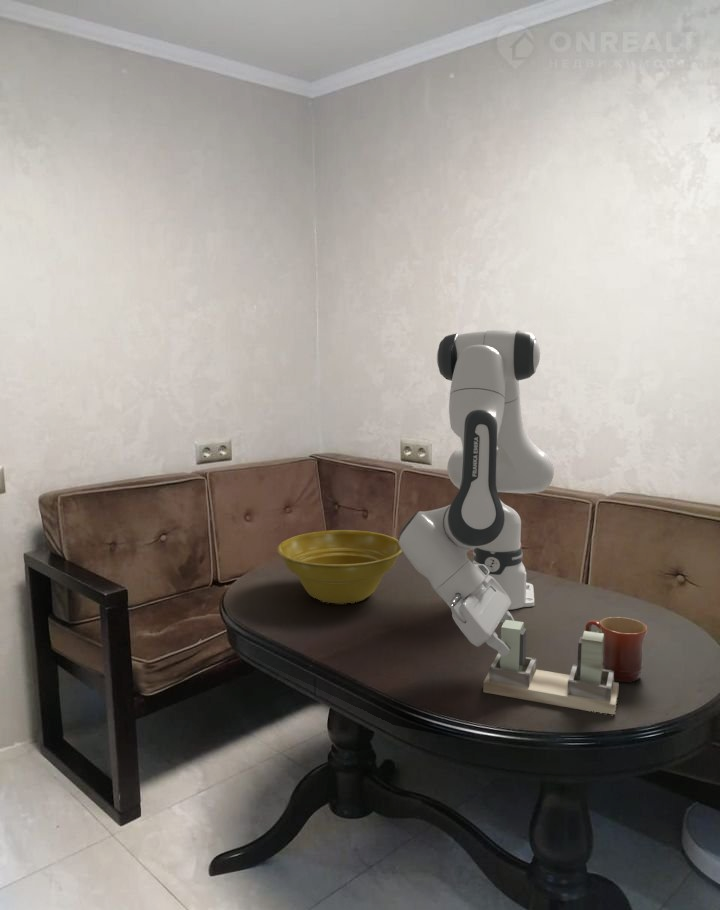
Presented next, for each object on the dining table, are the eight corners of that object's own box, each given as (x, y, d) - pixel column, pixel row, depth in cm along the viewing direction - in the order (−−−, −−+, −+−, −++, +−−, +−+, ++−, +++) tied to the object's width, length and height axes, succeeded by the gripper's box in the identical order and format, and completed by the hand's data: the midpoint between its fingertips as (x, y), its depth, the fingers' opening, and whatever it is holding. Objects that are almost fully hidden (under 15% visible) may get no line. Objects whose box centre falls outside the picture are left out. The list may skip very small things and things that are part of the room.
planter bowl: (371, 627, 165) (371, 570, 164) (253, 606, 179) (252, 553, 177) (421, 585, 194) (422, 537, 192) (316, 570, 208) (316, 525, 206)
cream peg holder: (494, 672, 142) (495, 613, 140) (618, 693, 133) (621, 630, 131) (483, 692, 134) (484, 630, 132) (614, 715, 125) (618, 649, 123)
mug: (653, 675, 140) (655, 625, 139) (632, 690, 134) (635, 637, 132) (595, 657, 148) (597, 609, 147) (573, 670, 142) (575, 620, 141)
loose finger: (504, 669, 138) (505, 619, 137) (525, 673, 137) (527, 622, 135) (500, 678, 135) (501, 627, 133) (521, 682, 133) (523, 630, 132)
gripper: (459, 593, 127) (514, 655, 124) (486, 562, 145) (534, 615, 143) (434, 614, 129) (488, 675, 127) (464, 581, 148) (511, 633, 145)
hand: (512, 643), depth 135 cm, fingers open, 8 cm apart
